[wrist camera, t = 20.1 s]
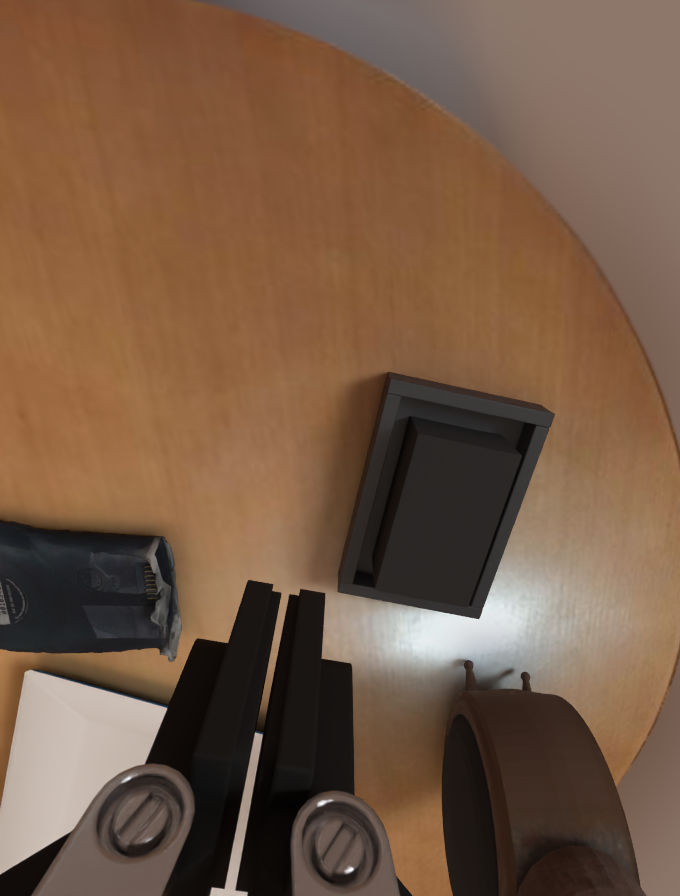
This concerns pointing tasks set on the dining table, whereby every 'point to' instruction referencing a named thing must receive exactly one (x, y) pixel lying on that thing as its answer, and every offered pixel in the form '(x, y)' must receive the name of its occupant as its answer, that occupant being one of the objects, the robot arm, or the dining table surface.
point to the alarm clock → (530, 800)
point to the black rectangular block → (442, 511)
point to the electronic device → (86, 592)
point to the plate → (81, 762)
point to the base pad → (398, 403)
